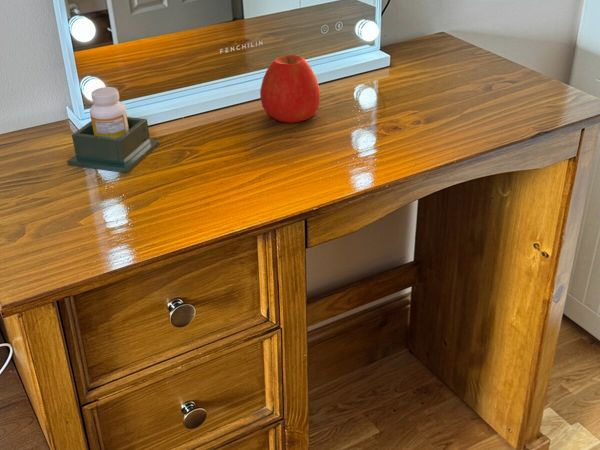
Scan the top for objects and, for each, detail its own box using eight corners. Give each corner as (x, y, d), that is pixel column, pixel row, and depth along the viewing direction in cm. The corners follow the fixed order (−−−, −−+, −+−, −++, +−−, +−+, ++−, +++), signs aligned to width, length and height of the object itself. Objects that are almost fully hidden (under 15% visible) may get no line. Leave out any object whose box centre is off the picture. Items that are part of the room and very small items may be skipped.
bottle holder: (68, 165, 118) (62, 136, 116) (103, 137, 127) (98, 110, 124) (127, 173, 115) (122, 144, 113) (159, 144, 124) (155, 117, 121)
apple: (280, 100, 138) (277, 43, 133) (331, 109, 134) (330, 51, 129) (251, 121, 131) (246, 62, 125) (304, 131, 126) (302, 70, 121)
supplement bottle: (105, 141, 123) (95, 84, 118) (137, 143, 122) (128, 85, 117) (91, 156, 119) (80, 97, 114) (123, 158, 118) (114, 99, 113)
